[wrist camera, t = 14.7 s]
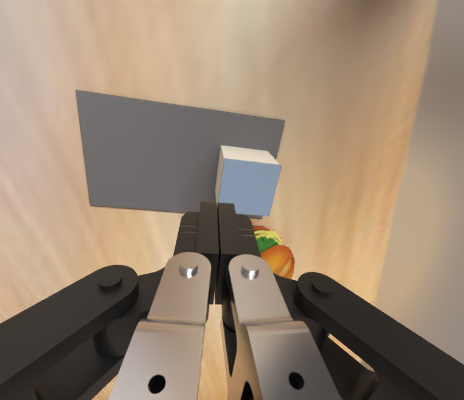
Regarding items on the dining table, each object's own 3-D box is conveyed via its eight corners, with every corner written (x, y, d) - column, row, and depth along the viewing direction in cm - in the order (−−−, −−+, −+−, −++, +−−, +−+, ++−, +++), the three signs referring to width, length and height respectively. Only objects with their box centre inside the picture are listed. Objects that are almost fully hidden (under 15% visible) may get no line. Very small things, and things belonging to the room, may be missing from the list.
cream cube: (224, 159, 28) (220, 145, 34) (217, 211, 31) (215, 189, 37) (281, 166, 29) (267, 151, 35) (269, 216, 32) (258, 193, 38)
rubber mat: (284, 120, 34) (285, 120, 33) (261, 217, 41) (261, 218, 40) (76, 90, 29) (75, 90, 29) (90, 204, 36) (90, 205, 36)
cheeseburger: (234, 213, 40) (259, 253, 31) (283, 221, 44) (316, 258, 36) (213, 259, 43) (231, 306, 35) (261, 262, 48) (286, 304, 40)
